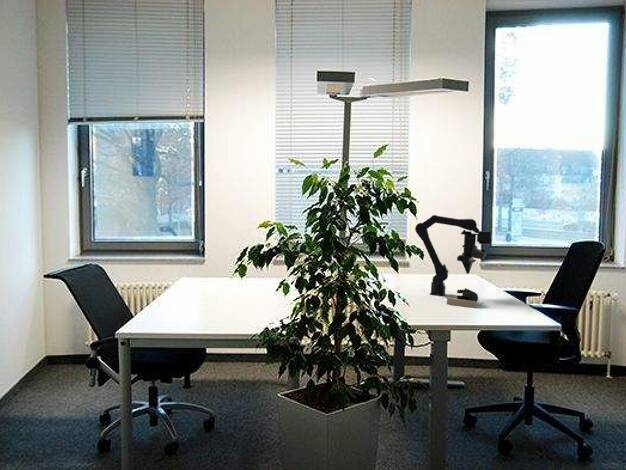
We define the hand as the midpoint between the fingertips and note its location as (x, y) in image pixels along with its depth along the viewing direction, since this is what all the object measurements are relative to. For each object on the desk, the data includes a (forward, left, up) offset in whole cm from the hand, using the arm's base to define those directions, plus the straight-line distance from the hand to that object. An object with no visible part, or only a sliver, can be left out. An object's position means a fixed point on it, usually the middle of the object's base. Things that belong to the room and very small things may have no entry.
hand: (467, 273), depth 334 cm
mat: (+5, -18, -12) cm, 23 cm away
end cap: (+6, -20, -12) cm, 24 cm away
